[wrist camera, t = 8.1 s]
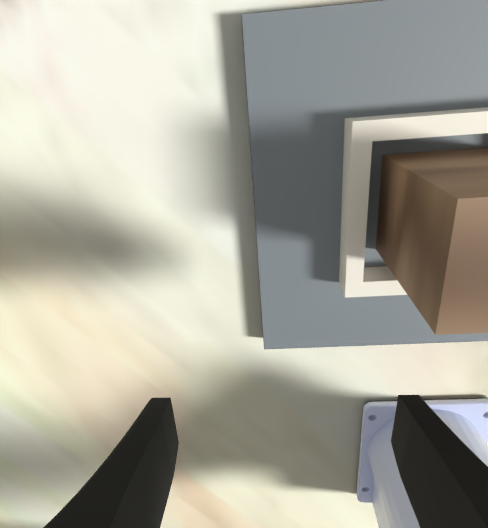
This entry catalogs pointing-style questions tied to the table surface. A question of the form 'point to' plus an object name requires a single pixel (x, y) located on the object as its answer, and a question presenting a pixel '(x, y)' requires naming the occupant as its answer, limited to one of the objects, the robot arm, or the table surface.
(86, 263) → the table surface
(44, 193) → the table surface
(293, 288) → the holder
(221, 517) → the table surface
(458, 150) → the peg
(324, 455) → the table surface
